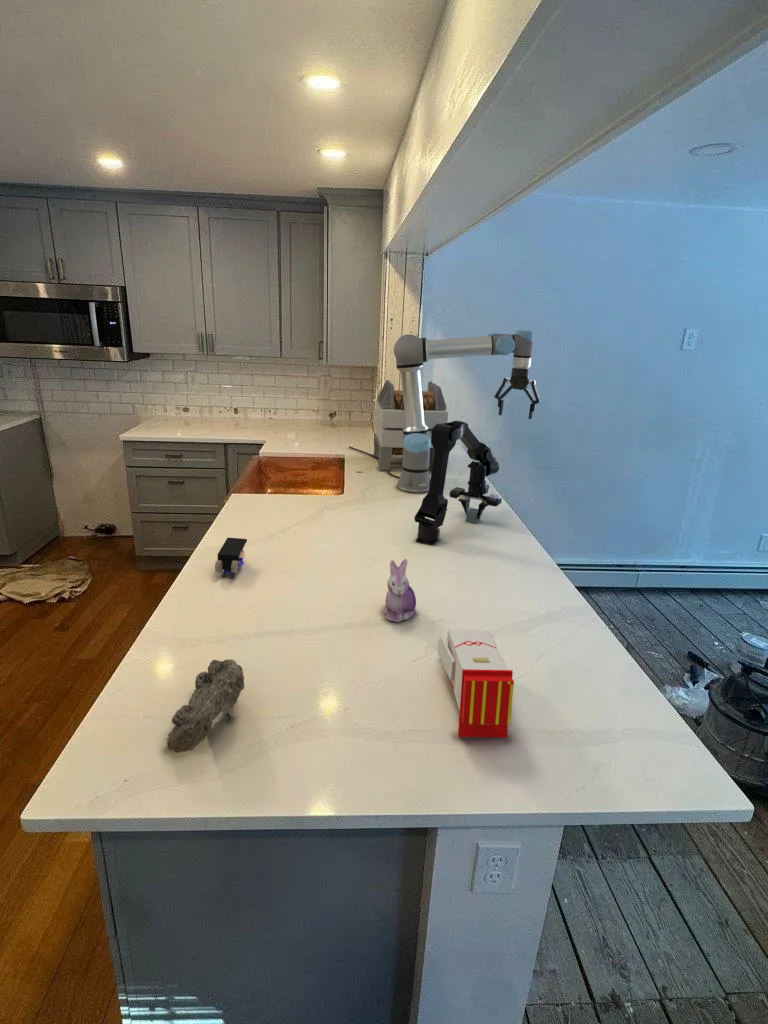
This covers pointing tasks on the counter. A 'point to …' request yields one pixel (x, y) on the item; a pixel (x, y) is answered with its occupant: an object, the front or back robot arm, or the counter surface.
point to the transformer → (403, 420)
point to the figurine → (399, 594)
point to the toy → (478, 682)
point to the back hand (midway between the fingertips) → (515, 416)
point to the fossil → (206, 705)
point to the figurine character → (230, 556)
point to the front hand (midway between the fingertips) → (473, 518)
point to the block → (472, 515)
